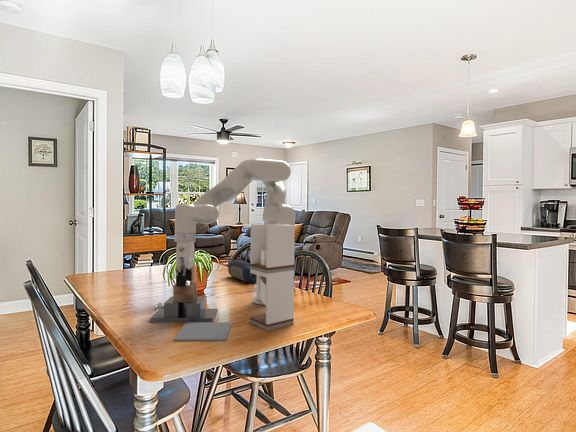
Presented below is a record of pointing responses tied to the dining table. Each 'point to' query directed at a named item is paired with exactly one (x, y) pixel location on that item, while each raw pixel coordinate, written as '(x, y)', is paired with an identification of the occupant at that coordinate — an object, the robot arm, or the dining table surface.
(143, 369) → the dining table surface
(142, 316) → the dining table surface
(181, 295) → the collar
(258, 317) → the grey two-tier cabinet
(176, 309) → the vise
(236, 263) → the portable speaker
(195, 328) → the mat
